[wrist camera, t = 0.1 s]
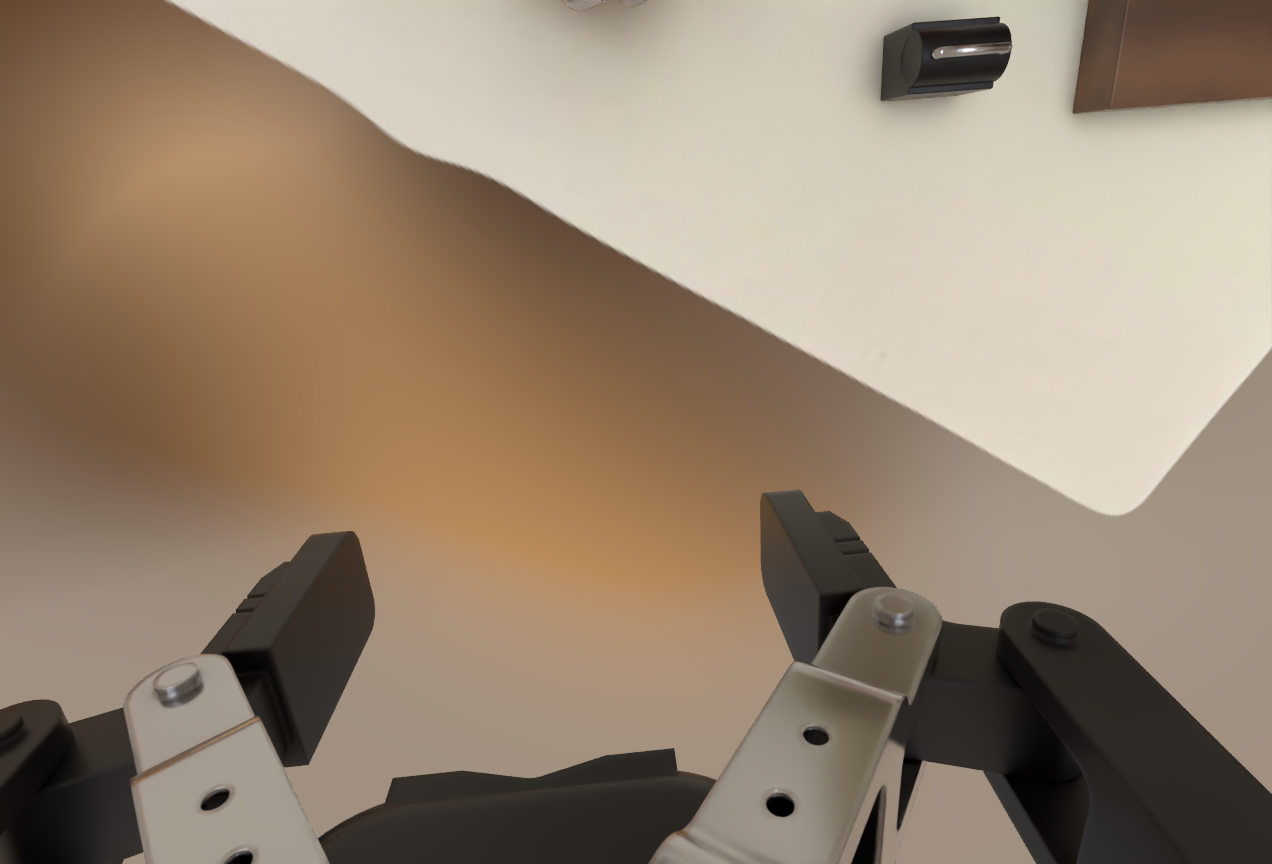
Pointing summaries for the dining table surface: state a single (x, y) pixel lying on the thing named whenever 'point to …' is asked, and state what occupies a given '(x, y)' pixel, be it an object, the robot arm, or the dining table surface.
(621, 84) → the dining table surface
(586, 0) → the headphones
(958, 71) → the black lunch box
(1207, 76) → the wooden step stairs
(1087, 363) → the dining table surface
